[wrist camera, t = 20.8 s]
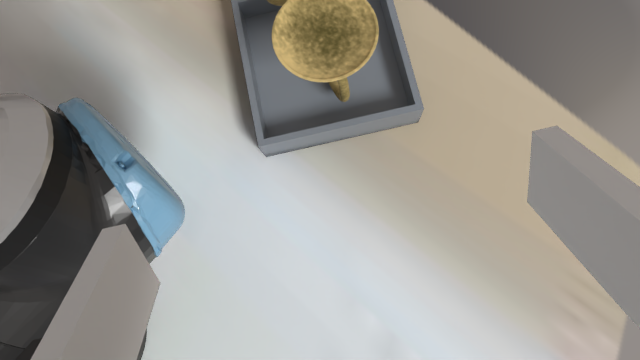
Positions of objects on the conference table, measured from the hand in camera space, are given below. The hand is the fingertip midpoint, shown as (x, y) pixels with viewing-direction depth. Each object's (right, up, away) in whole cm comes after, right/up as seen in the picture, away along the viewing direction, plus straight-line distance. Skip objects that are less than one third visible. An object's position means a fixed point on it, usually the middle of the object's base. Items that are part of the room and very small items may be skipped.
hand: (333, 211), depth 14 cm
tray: (0, +14, +35) cm, 38 cm away
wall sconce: (0, +14, +35) cm, 37 cm away
